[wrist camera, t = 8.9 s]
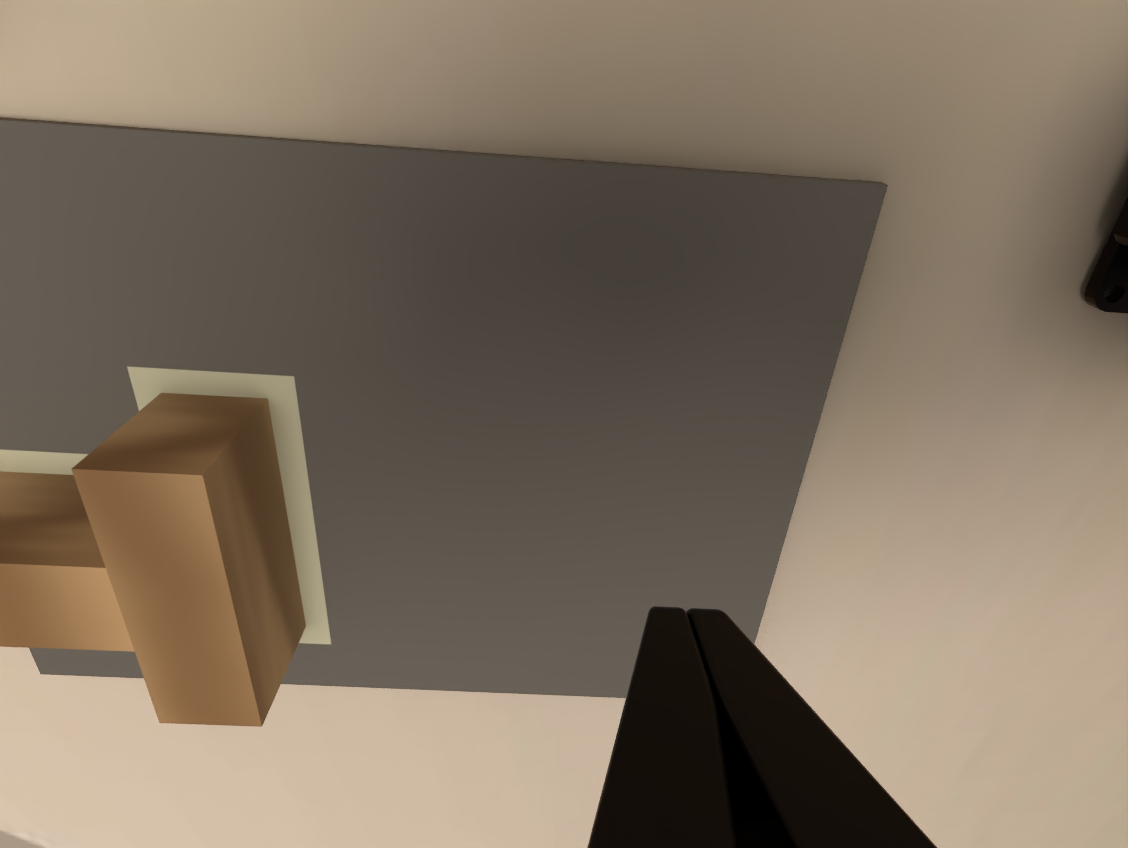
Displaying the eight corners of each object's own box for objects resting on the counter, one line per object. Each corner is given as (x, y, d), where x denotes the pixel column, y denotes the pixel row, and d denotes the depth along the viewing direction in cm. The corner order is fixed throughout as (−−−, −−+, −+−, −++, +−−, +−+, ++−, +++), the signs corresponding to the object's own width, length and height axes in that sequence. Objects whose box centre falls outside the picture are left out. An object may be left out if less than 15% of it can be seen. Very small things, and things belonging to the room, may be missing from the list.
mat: (881, 182, 17) (887, 185, 16) (735, 693, 26) (737, 702, 26) (-197, 103, 16) (-215, 104, 15) (48, 665, 25) (40, 674, 25)
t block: (267, 398, 19) (202, 475, 16) (306, 626, 23) (261, 726, 20) (-57, 381, 19) (-198, 455, 15) (43, 615, 23) (-49, 715, 20)
